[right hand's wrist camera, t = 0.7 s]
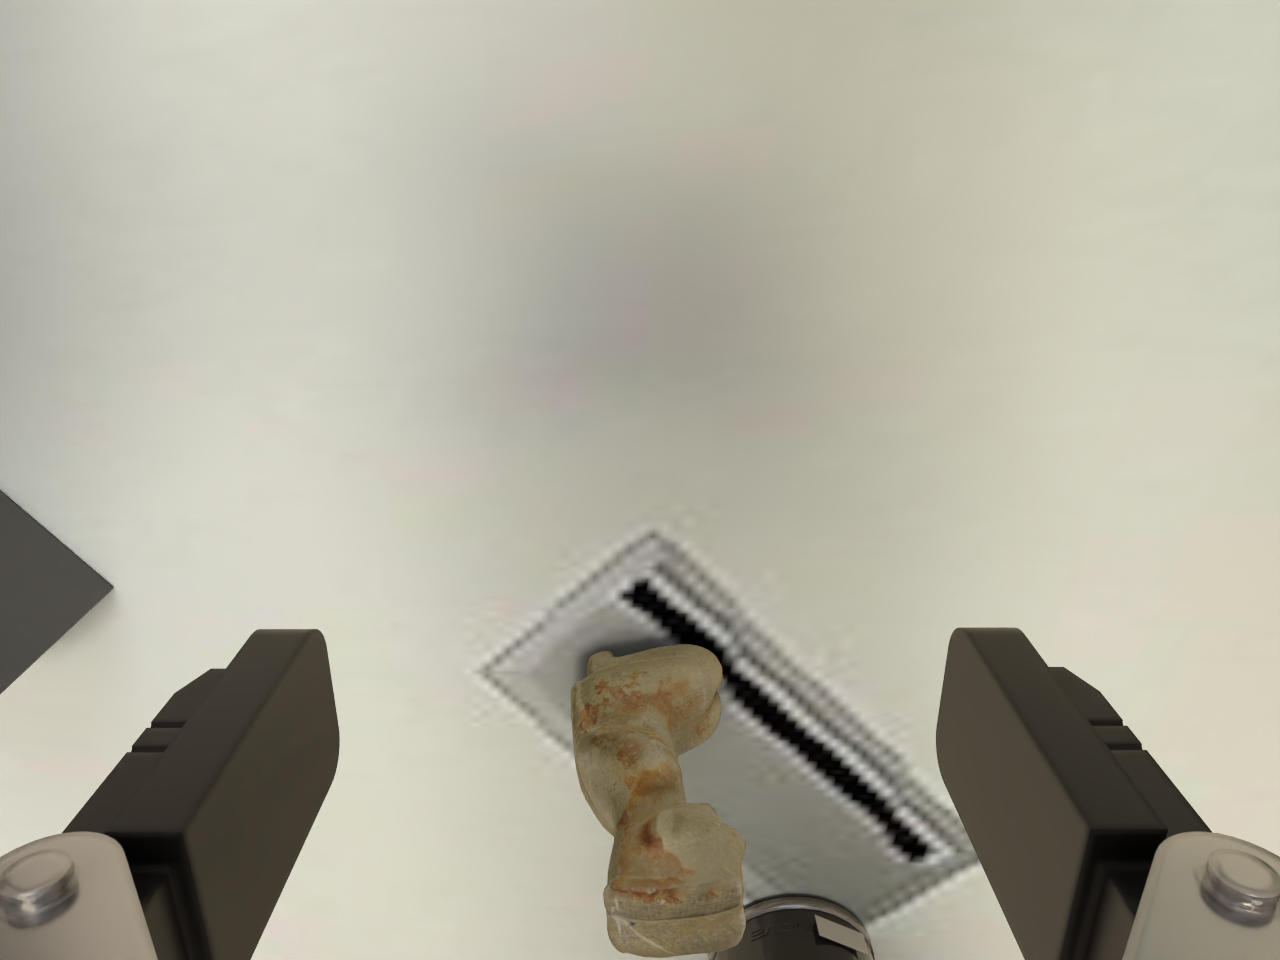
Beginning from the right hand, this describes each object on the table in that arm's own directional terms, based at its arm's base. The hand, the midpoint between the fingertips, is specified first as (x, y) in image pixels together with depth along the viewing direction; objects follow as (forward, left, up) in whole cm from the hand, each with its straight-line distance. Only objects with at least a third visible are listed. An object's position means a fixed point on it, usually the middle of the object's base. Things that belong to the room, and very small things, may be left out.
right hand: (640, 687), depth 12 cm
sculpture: (-19, +2, -28) cm, 34 cm away
